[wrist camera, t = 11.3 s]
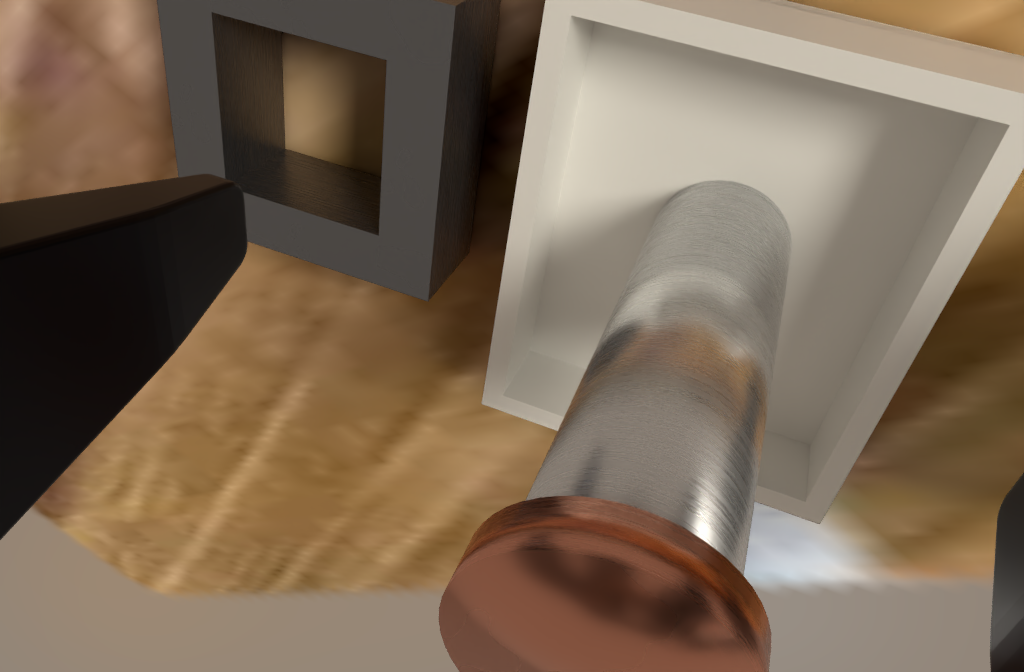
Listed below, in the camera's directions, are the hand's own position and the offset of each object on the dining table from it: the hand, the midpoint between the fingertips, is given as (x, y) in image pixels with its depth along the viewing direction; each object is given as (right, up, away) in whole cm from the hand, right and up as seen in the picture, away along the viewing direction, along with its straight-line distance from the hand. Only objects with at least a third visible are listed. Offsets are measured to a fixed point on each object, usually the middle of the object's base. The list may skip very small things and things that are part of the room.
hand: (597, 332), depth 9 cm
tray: (+5, +3, +13) cm, 14 cm away
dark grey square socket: (-5, +7, +14) cm, 17 cm away
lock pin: (+5, +2, +12) cm, 13 cm away
